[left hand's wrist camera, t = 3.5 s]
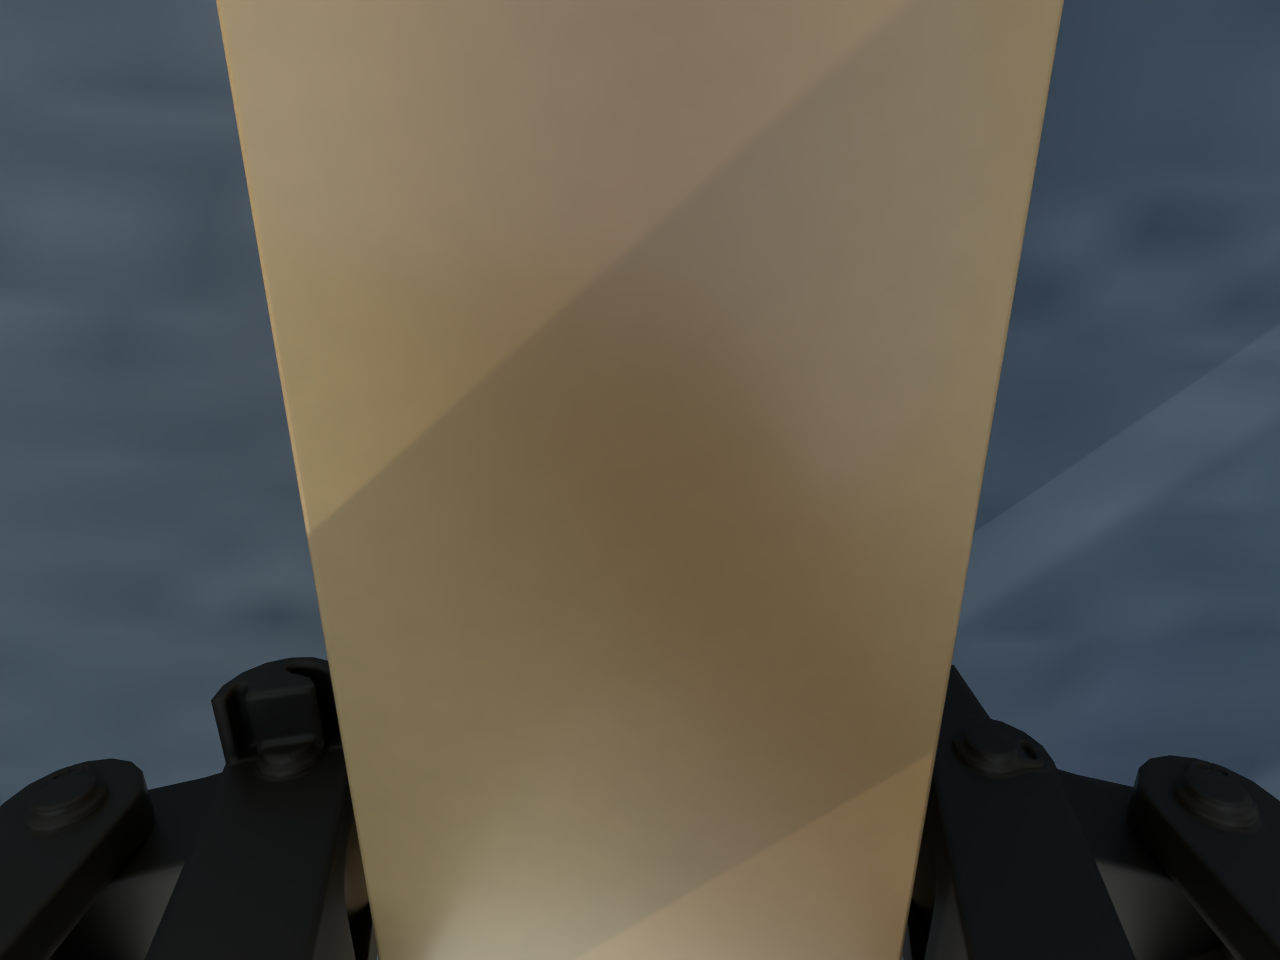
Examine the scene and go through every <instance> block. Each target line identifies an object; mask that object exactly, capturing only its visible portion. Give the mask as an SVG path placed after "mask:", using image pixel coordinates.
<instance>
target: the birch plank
mask: <svg viewBox="0 0 1280 960" xmlns="http://www.w3.org/2000/svg"><path fill="white" fill-rule="evenodd" d="M216 2H217V8H218V14H219V20H220V26H221V32H222V38H223V44H224V49H225V55H226V61H227V67H228V73H229V79H230V85H231V91H232V97H233V103H234V108H235V114H236V120H237V126H238V132H239V138H240V144H241V150H242V156H243V162H244V167H245V173H246V179H247V185H248V191H249V197H250V203H251V209H252V215H253V221H254V226H255V232H256V238H257V244H258V250H259V256H260V262H261V268H262V274H263V280H264V285H265V291H266V297H267V303H268V309H269V315H270V321H271V327H272V333H273V338H274V344H275V350H276V356H277V362H278V368H279V374H280V380H281V386H282V392H283V397H284V403H285V409H286V415H287V421H288V427H289V433H290V439H291V445H292V451H293V456H294V462H295V468H296V474H297V480H298V486H299V492H300V498H301V504H302V510H303V515H304V521H305V527H306V533H307V539H308V545H309V551H310V557H311V563H312V569H313V574H314V580H315V586H316V592H317V598H318V604H319V610H320V616H321V622H322V628H323V633H324V639H325V645H326V651H327V657H328V663H329V669H330V675H331V681H332V686H333V692H334V698H335V704H336V710H337V716H338V722H339V728H340V734H341V740H342V745H343V751H344V757H345V763H346V769H347V775H348V781H349V787H350V793H351V799H352V804H353V810H354V816H355V822H356V828H357V834H358V840H359V846H360V852H361V858H362V863H363V869H364V875H365V881H366V887H367V893H368V899H369V905H370V911H371V917H372V922H373V928H374V934H375V940H376V946H377V952H378V958H379V960H901V957H902V951H903V945H904V940H905V934H906V928H907V922H908V916H909V910H910V904H911V898H912V892H913V886H914V881H915V875H916V869H917V863H918V857H919V851H920V845H921V839H922V833H923V828H924V822H925V816H926V810H927V804H928V798H929V792H930V786H931V780H932V775H933V769H934V763H935V757H936V751H937V745H938V739H939V733H940V727H941V721H942V716H943V710H944V704H945V698H946V692H947V686H948V680H949V674H950V668H951V663H952V657H953V651H954V645H955V639H956V633H957V627H958V621H959V615H960V610H961V604H962V598H963V592H964V586H965V580H966V574H967V568H968V562H969V556H970V551H971V545H972V539H973V533H974V527H975V521H976V515H977V509H978V503H979V498H980V492H981V486H982V480H983V474H984V468H985V462H986V456H987V450H988V445H989V439H990V433H991V427H992V421H993V415H994V409H995V403H996V397H997V391H998V386H999V380H1000V374H1001V368H1002V362H1003V356H1004V350H1005V344H1006V338H1007V333H1008V327H1009V321H1010V315H1011V309H1012V303H1013V297H1014V291H1015V285H1016V280H1017V274H1018V268H1019V262H1020V256H1021V250H1022V244H1023V238H1024V232H1025V226H1026V221H1027V215H1028V209H1029V203H1030V197H1031V191H1032V185H1033V179H1034V173H1035V168H1036V162H1037V156H1038V150H1039V144H1040V138H1041V132H1042V126H1043V120H1044V115H1045V109H1046V103H1047V97H1048V91H1049V85H1050V79H1051V73H1052V67H1053V61H1054V56H1055V50H1056V44H1057V38H1058V32H1059V26H1060V20H1061V14H1062V8H1063V3H1064V0H216Z"/></svg>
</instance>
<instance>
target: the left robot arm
mask: <svg viewBox="0 0 1280 960" xmlns="http://www.w3.org/2000/svg"><path fill="white" fill-rule="evenodd" d="M211 702H212V706H213V711H214V715H215V719H216V723H217V727H218V732H219V736H220V740H221V744H222V748H223V753H224V757H225V761H226V765H225V767H224V769H223V772H222V773H219V774H215V775H212V776H208V777H205V778H201V779H196V780H192V781H187V782H183V783H178V784H174V785H169V786H164V787H160V788H155V789H151V790H148V789H147V786H146V782H145V779H144V775H143V772H142V771H141V770H140V769H139V768H138V767H137V766H136V765H134V764H133V763H132V762H129V761H123V760H117V759H104V760H95V761H86V762H83V763H80V764H76V765H73V766H70V767H69V766H68V767H66V768H63V769H60V770H57V771H55V772H53V773H51V774H49V775H47V776H45V777H43V778H41V779H39V780H37V781H35V782H33V783H31V784H29V785H28V786H26V787H25V788H24V789H22V790H21V791H20V792H18V793H17V794H16V795H14V796H13V797H11V798H10V799H9V800H7V801H6V802H5V803H4V804H2V805H1V806H0V960H377V946H376V940H375V934H374V928H373V922H372V917H371V911H370V905H369V899H368V893H367V887H366V881H365V875H364V869H363V863H362V858H361V852H360V846H359V840H358V834H357V828H356V822H355V816H354V810H353V804H352V799H351V793H350V787H349V781H348V775H347V769H346V763H345V757H344V751H343V745H342V740H341V734H340V728H339V722H338V716H337V710H336V704H335V698H334V692H333V686H332V681H331V675H330V669H329V663H328V661H326V660H322V659H318V658H314V657H300V658H287V659H282V660H278V661H273V662H268V663H265V664H262V665H260V666H258V667H255V668H253V669H250V670H248V671H245V672H243V673H241V674H240V675H238V676H237V677H235V678H234V679H232V680H231V681H229V682H228V683H226V684H225V685H223V686H222V688H221V689H220V690H219V691H218V692H217V694H216V695H215V696H214V697H213V699H212V700H211ZM902 956H903V959H904V960H1280V801H1279V800H1278V799H1276V798H1275V797H1273V796H1272V795H1271V794H1269V793H1268V792H1267V791H1265V790H1264V789H1263V788H1261V787H1260V786H1258V785H1257V784H1256V783H1254V782H1253V781H1251V780H1249V779H1247V778H1245V777H1243V776H1241V775H1239V774H1237V773H1235V772H1233V771H1231V770H1229V769H1227V768H1225V767H1222V766H1219V765H1217V764H1214V763H1209V762H1207V761H1203V760H1199V759H1196V758H1188V757H1179V756H1170V755H1169V756H1163V757H1157V758H1151V759H1149V760H1148V761H1147V762H1146V763H1144V764H1143V765H1142V766H1141V767H1140V768H1139V770H1138V773H1137V777H1136V780H1135V784H1134V787H1131V786H1126V785H1121V784H1117V783H1112V782H1108V781H1103V780H1098V779H1094V778H1089V777H1085V776H1080V775H1076V774H1073V773H1069V772H1066V771H1062V770H1059V769H1057V768H1056V766H1055V763H1054V762H1053V760H1052V759H1051V757H1050V756H1049V754H1048V753H1047V752H1046V750H1045V749H1044V747H1043V746H1042V745H1040V744H1039V743H1038V742H1036V741H1035V740H1034V739H1033V738H1031V737H1030V736H1029V735H1027V734H1026V733H1025V732H1023V731H1021V730H1019V729H1016V728H1014V727H1012V726H1010V725H1008V724H1006V723H1003V722H1001V721H997V720H993V719H990V717H989V716H988V714H987V713H986V711H985V710H984V709H983V707H982V706H981V704H980V703H979V701H978V700H977V698H976V697H975V695H974V694H973V693H972V691H971V690H970V688H969V687H968V685H967V684H966V682H965V681H964V679H963V678H962V677H961V675H960V674H959V672H958V671H957V669H956V668H955V666H954V665H951V668H950V674H949V680H948V686H947V692H946V698H945V704H944V710H943V716H942V721H941V727H940V733H939V739H938V745H937V751H936V757H935V763H934V769H933V775H932V780H931V786H930V792H929V798H928V804H927V810H926V816H925V822H924V828H923V833H922V839H921V845H920V851H919V857H918V863H917V869H916V875H915V881H914V886H913V892H912V898H911V904H910V910H909V916H908V922H907V928H906V934H905V940H904V945H903V951H902ZM901 960H902V957H901Z"/></svg>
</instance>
